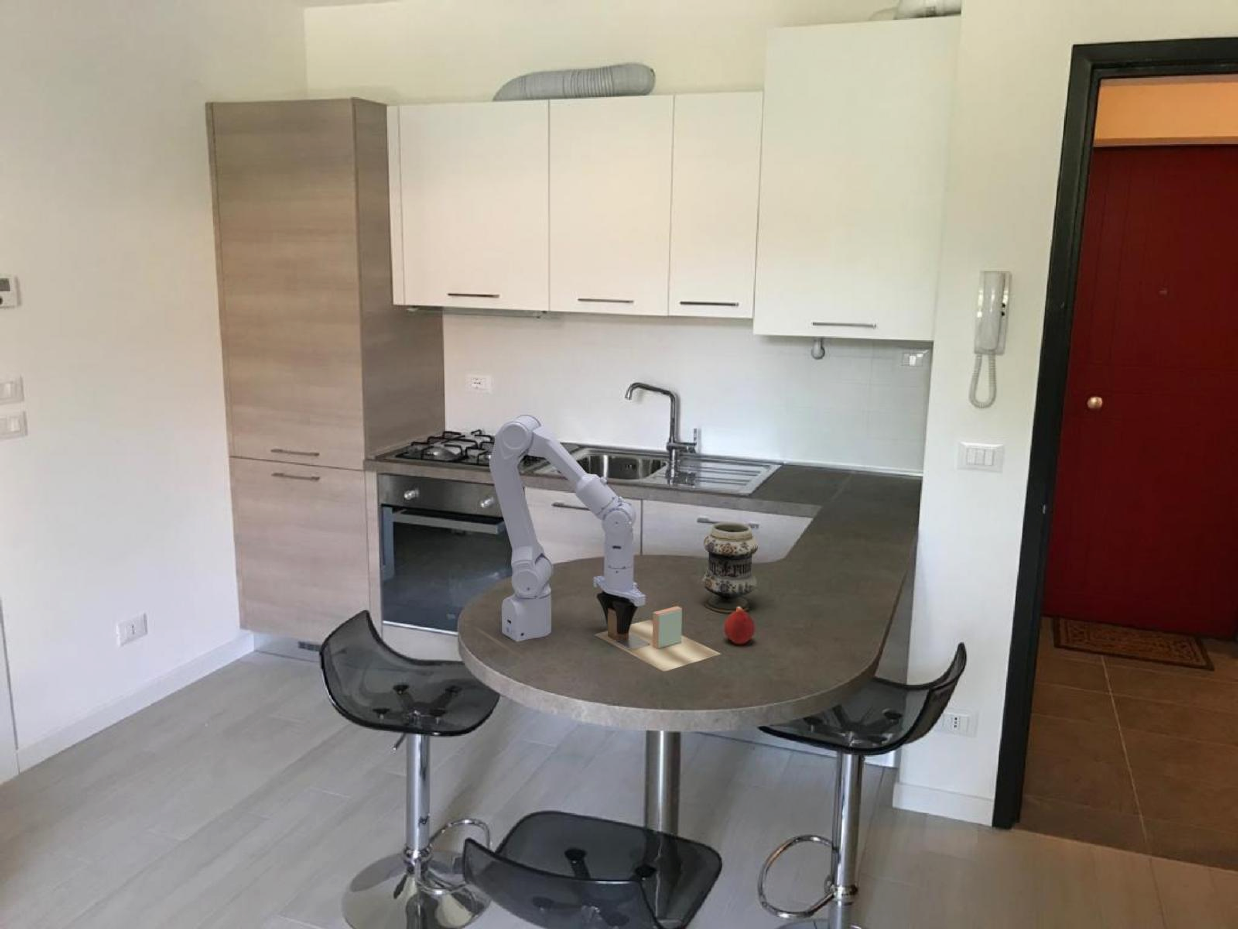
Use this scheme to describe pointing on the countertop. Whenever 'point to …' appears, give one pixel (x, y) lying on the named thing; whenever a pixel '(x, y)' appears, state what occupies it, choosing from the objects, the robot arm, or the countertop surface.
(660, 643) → the tile
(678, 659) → the board
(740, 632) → the onion
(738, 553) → the apothecary jar
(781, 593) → the countertop surface
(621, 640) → the bookend
